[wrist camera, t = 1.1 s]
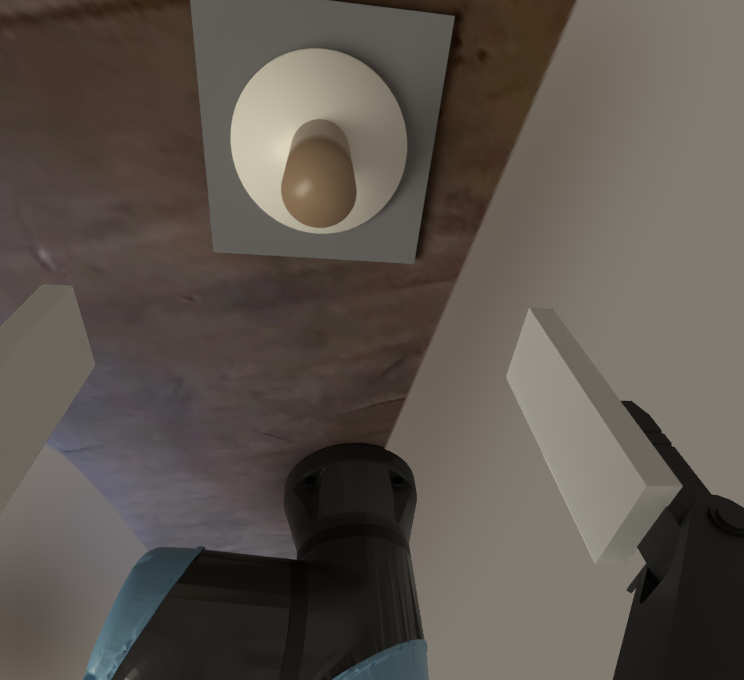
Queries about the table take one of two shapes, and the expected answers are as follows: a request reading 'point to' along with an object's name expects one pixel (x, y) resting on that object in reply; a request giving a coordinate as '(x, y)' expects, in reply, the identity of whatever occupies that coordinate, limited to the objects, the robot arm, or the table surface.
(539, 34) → the table surface
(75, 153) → the table surface
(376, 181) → the lid
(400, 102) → the mat
